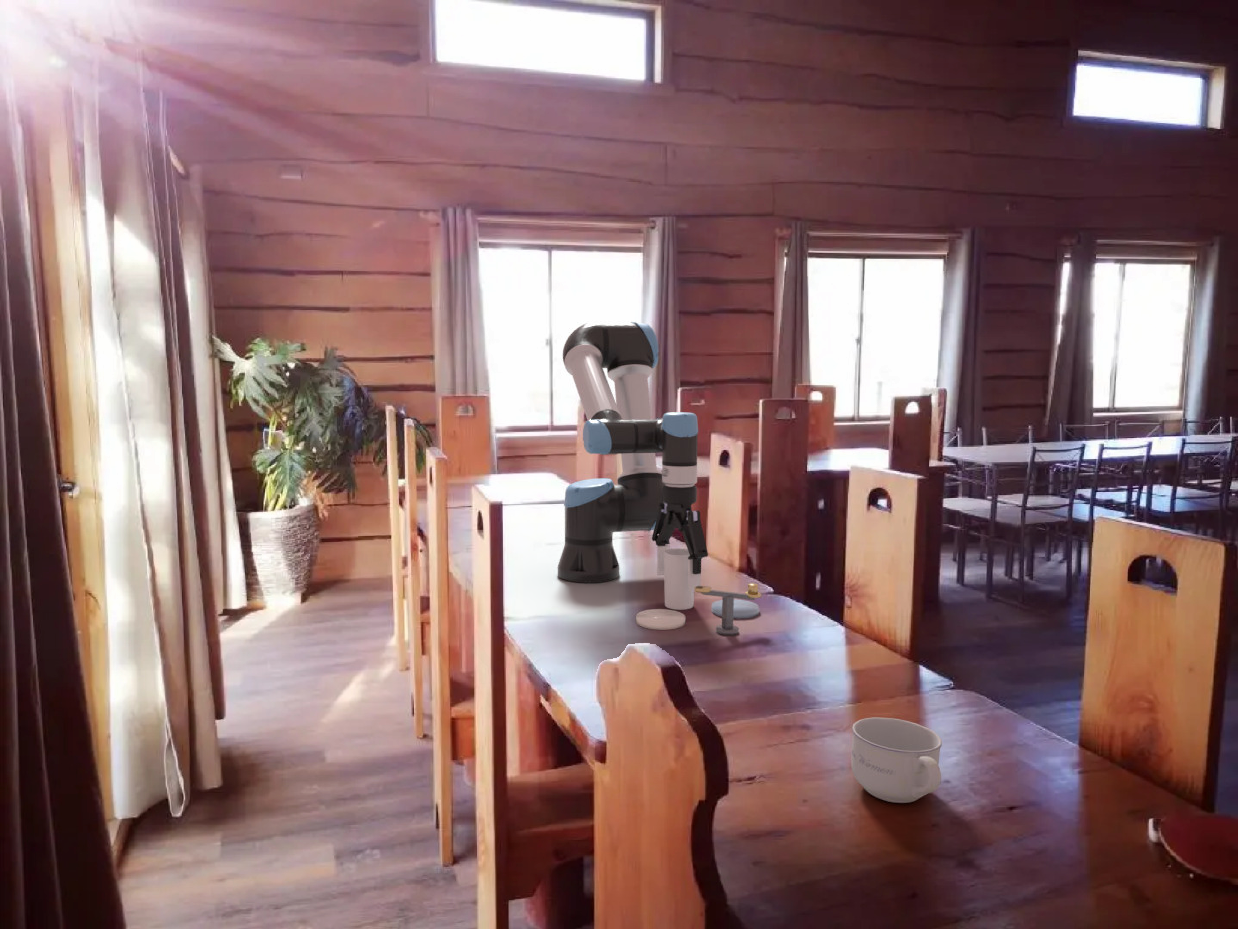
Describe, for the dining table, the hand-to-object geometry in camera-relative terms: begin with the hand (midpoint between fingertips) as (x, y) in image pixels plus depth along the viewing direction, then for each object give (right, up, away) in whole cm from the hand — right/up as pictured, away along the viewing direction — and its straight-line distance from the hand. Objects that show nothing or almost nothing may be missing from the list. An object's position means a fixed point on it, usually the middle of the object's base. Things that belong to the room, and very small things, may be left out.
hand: (678, 581), depth 193 cm
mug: (0, -5, +1) cm, 5 cm away
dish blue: (+12, -6, -4) cm, 14 cm away
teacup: (+22, -17, -82) cm, 86 cm away
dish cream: (-4, -7, -12) cm, 14 cm away
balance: (+9, -8, -18) cm, 21 cm away
